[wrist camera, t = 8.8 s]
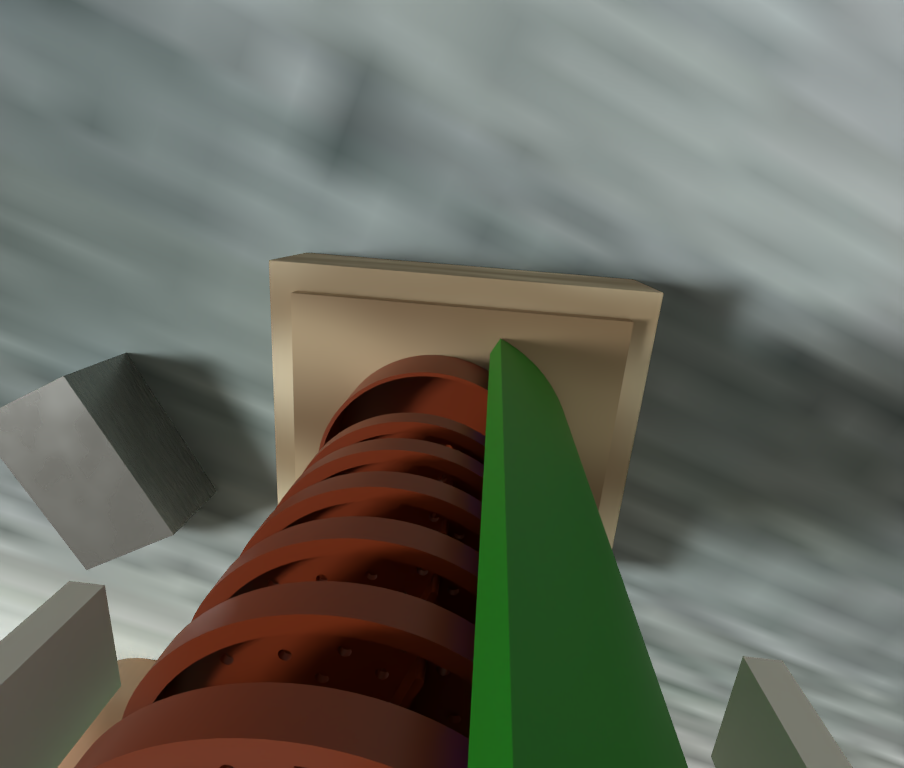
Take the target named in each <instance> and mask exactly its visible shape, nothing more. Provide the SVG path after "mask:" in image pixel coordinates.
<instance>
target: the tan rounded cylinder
mask: <svg viewBox="0 0 904 768" xmlns="http://www.w3.org/2000/svg"><path fill="white" fill-rule="evenodd" d="M155 662H156V661H155V660H150V659H143V658H128V659H122V660H118V661H117V663H118V669H119V675H120V681H121V687H120V688H119V689H118V691H117V692H116V693H115V694H114V696H113V697H112V698H111V700H110V701H109V702H108V703H107V705H106V706H105V707H104V708H103V710H102V711H101V712H100V714H99V715H98V716H97V717H96V719H95V720H94V721H93V722H92V724H91V725H90V726H89V728H88V729H87V730H86V731H85V733H84V734H83V735H82V737H81V738H80V739H79V740H78V742H77V743H76V744H75V745H74V747H73V748H72V749H71V751H70V752H69V753H68V754H67V756H66V757H65V758H64V760H63V761H62V762H61V763H60V765H59V766H58V767H57V768H74V767H75V766H76V764H77V763H78V762H79V761H80V759H81V758H82V757H83V755H84V754H85V753H86V752H87V750H88V749H89V748H90V747H91V746H92V744H93V743H94V742H95V741H96V740H97V739H98V738H99V737H100V736H101V735H102V734H103V733H105V732H106V731H107V730H108V729H110V728H111V727H112V726H113V725H115V724H116V723H118V722H119V721H121V720H122V717H123V714H124V711H125V709H126V706H127V704H128V701H129V700H130V698H131V696H132V694H133V692H134V691H135V689H136V688H137V686H138V685H139V683H140V682H141V680H142V679H143V678H144V677H145V675H146V674H147V673H148V671H149V670H150V669H151V667H152V666H153V665H154V664H155Z"/></svg>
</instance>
